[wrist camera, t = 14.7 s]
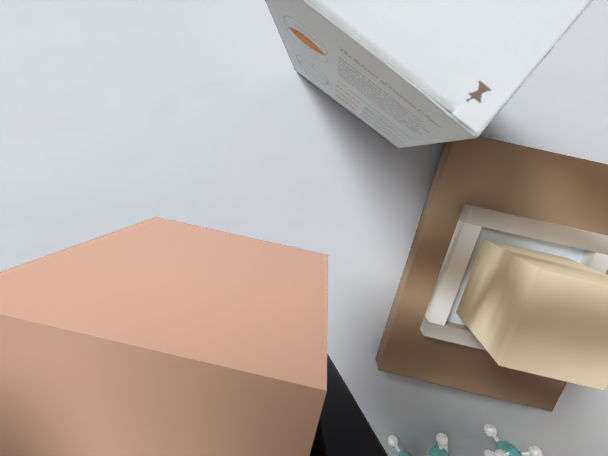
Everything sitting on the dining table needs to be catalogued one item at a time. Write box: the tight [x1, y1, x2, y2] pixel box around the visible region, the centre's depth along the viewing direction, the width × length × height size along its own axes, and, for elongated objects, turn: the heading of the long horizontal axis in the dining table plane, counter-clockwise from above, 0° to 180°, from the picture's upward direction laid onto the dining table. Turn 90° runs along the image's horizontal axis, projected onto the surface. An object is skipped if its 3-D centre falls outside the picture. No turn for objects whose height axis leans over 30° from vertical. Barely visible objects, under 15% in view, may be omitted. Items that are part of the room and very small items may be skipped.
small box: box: [265, 0, 593, 148], centre depth 12 cm, size 8×6×10 cm
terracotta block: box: [0, 217, 328, 456], centre depth 7 cm, size 5×5×5 cm
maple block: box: [456, 239, 608, 391], centre depth 16 cm, size 5×5×5 cm
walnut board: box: [376, 137, 608, 412], centre depth 19 cm, size 16×12×2 cm
